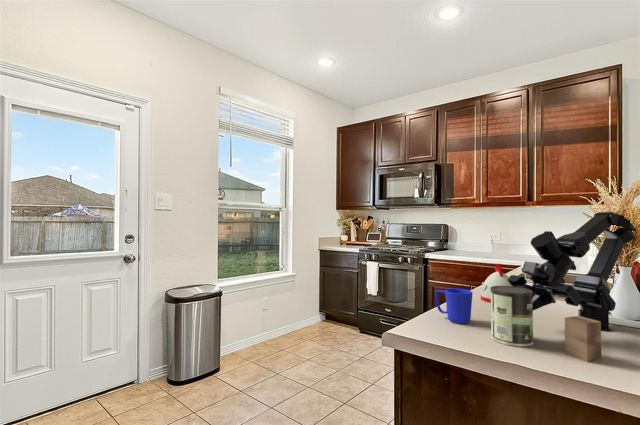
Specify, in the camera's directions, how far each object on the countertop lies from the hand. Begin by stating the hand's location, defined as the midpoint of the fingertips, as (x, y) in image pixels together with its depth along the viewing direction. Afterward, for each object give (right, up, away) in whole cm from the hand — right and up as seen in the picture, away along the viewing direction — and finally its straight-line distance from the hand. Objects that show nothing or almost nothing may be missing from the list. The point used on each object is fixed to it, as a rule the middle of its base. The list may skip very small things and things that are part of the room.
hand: (526, 311), depth 93 cm
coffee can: (-5, -8, -2) cm, 10 cm away
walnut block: (+6, -7, -13) cm, 16 cm away
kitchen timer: (+16, -9, +42) cm, 46 cm away
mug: (-14, -8, +16) cm, 23 cm away
